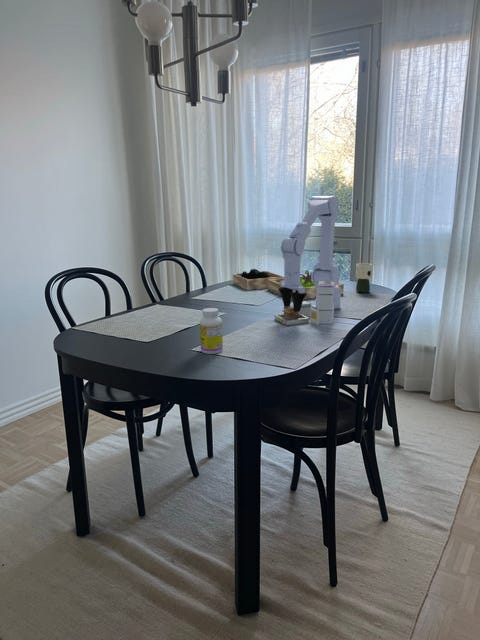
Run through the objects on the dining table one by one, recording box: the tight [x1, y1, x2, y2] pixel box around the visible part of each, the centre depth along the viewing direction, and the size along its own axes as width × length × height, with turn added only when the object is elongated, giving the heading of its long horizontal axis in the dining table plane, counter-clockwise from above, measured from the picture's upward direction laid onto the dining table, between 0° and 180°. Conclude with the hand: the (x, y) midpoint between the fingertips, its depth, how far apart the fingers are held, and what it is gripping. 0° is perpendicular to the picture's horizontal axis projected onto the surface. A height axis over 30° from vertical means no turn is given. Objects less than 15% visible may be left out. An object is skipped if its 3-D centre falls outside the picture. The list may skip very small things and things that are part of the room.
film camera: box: [241, 268, 270, 280], centre depth 237 cm, size 15×10×9 cm, turn 69°
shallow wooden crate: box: [232, 270, 284, 291], centre depth 240 cm, size 20×20×5 cm
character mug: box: [355, 262, 373, 293], centre depth 218 cm, size 11×7×13 cm, turn 153°
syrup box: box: [317, 281, 335, 325], centre depth 170 cm, size 6×6×14 cm
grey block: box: [299, 300, 312, 317], centre depth 180 cm, size 4×4×5 cm
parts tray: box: [274, 313, 310, 327], centre depth 173 cm, size 9×9×2 cm
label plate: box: [309, 307, 320, 326], centre depth 169 cm, size 1×5×5 cm, turn 23°
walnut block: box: [283, 305, 299, 320], centre depth 173 cm, size 4×4×5 cm
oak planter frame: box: [267, 275, 345, 301], centre depth 221 cm, size 26×26×5 cm
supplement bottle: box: [199, 307, 224, 355], centre depth 141 cm, size 7×7×13 cm
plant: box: [300, 269, 315, 288], centre depth 219 cm, size 20×20×11 cm
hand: (292, 309), depth 172 cm, fingers open, 7 cm apart
